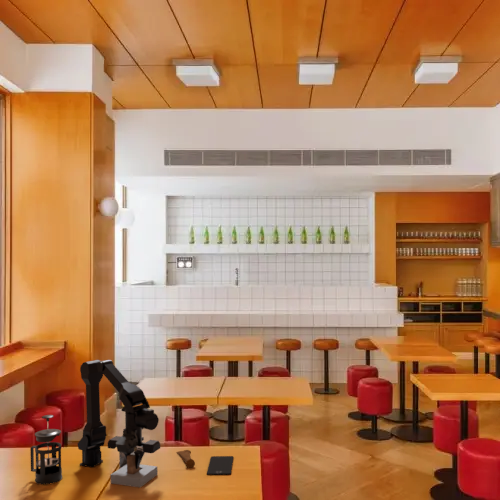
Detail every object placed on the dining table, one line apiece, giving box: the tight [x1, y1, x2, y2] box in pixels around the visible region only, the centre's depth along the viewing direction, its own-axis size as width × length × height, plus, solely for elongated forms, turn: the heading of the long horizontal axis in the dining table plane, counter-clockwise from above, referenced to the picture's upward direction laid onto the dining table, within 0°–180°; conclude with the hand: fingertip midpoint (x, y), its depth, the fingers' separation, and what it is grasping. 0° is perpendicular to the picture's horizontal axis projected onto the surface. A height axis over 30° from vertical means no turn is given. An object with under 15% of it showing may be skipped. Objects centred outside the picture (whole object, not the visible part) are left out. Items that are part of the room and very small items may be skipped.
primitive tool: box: [175, 449, 196, 469], centre depth 227 cm, size 19×6×4 cm, turn 18°
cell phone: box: [206, 455, 234, 476], centre depth 219 cm, size 9×18×1 cm, turn 179°
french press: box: [29, 414, 63, 485], centre depth 209 cm, size 12×9×23 cm
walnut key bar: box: [127, 451, 140, 474], centre depth 208 cm, size 2×5×8 cm, turn 160°
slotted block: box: [110, 463, 158, 488], centre depth 208 cm, size 12×12×3 cm
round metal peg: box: [118, 452, 127, 469], centre depth 221 cm, size 4×4×8 cm
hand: (134, 468), depth 208 cm, fingers closed on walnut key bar, 2 cm apart
